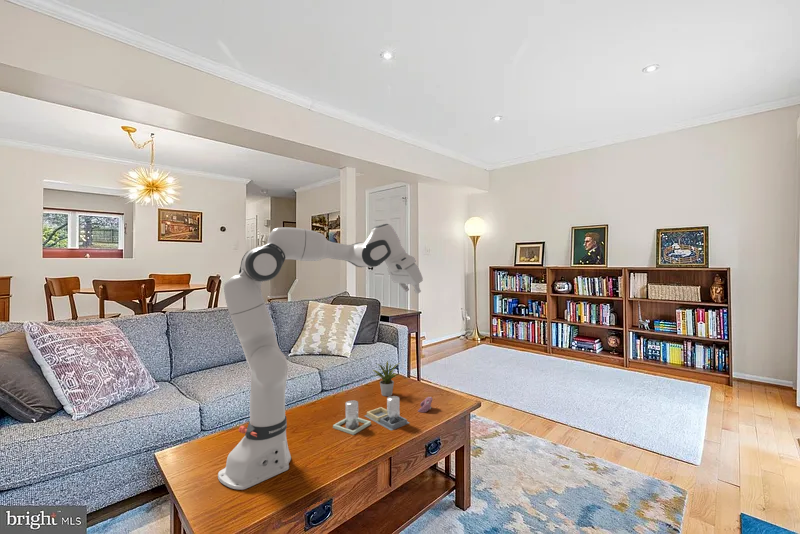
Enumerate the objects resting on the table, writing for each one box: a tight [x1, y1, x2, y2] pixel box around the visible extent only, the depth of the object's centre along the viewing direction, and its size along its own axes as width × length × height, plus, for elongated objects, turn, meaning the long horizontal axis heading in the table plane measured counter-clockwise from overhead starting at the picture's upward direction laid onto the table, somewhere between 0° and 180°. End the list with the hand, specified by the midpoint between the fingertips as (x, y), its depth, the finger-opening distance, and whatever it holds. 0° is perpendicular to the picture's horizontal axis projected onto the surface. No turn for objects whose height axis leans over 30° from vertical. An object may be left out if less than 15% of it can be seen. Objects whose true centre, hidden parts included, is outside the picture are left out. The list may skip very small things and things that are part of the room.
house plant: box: [372, 360, 401, 397], centre depth 183 cm, size 14×14×16 cm
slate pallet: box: [364, 406, 411, 432], centre depth 151 cm, size 18×10×3 cm, turn 41°
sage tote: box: [332, 417, 372, 436], centre depth 145 cm, size 11×11×2 cm
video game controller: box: [417, 396, 434, 413], centre depth 162 cm, size 10×5×7 cm, turn 169°
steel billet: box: [345, 399, 359, 430], centre depth 145 cm, size 5×5×10 cm
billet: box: [386, 395, 401, 424], centre depth 147 cm, size 5×5×10 cm
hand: (412, 291), depth 147 cm, fingers open, 8 cm apart
